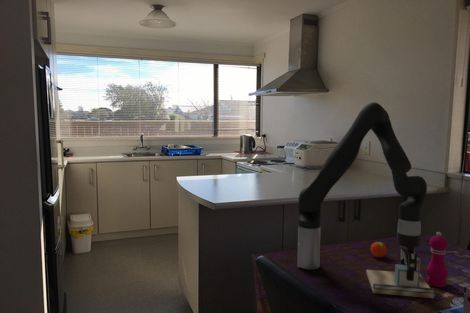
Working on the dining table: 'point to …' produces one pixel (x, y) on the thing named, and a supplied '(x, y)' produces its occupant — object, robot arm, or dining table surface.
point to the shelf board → (385, 285)
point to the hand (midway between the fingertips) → (406, 275)
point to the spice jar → (418, 263)
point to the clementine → (378, 249)
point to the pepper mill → (437, 262)
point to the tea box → (401, 276)
